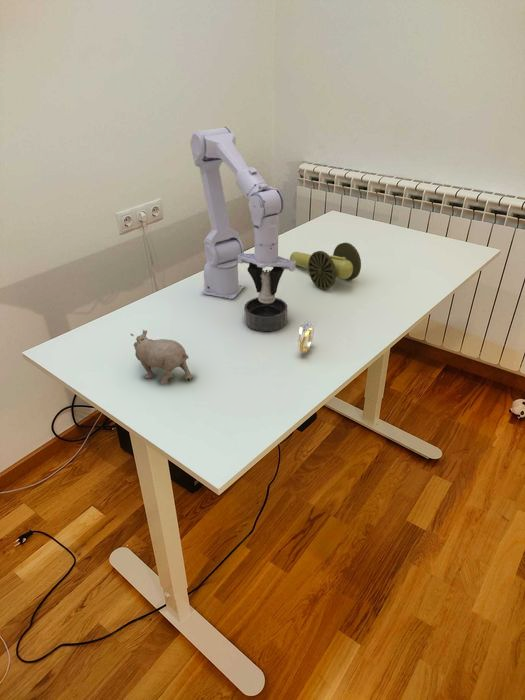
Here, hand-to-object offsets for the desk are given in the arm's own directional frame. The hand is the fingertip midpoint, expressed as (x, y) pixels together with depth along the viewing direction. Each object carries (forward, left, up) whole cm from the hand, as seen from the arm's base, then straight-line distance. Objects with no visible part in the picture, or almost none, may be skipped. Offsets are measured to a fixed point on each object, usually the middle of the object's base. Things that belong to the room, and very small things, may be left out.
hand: (266, 292), depth 128 cm
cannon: (+6, +31, -9) cm, 32 cm away
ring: (+14, -10, -9) cm, 19 cm away
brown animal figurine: (-15, -29, -9) cm, 34 cm away
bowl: (0, 0, -9) cm, 9 cm away
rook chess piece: (0, 0, -3) cm, 3 cm away
